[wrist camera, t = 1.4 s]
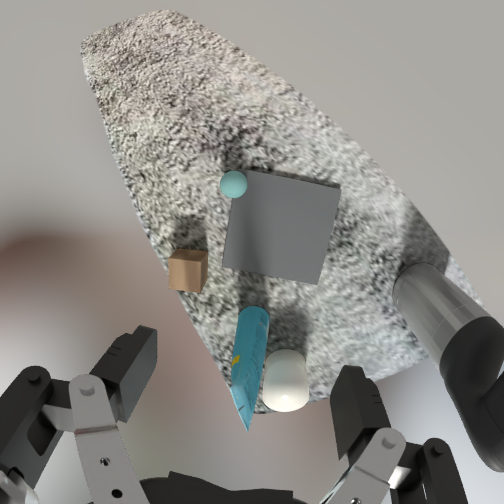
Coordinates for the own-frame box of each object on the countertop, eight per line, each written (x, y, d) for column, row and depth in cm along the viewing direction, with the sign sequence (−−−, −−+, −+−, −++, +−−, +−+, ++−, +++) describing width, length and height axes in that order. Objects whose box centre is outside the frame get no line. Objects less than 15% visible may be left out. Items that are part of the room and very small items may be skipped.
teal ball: (250, 172, 38) (248, 173, 34) (246, 198, 39) (243, 202, 36) (224, 168, 38) (220, 169, 34) (220, 193, 39) (215, 197, 36)
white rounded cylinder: (310, 352, 46) (315, 384, 39) (299, 381, 49) (301, 413, 41) (269, 345, 47) (268, 378, 39) (261, 375, 49) (258, 408, 41)
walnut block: (200, 261, 38) (168, 258, 38) (200, 292, 39) (169, 288, 40) (208, 251, 42) (178, 248, 43) (207, 279, 44) (178, 276, 44)
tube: (231, 302, 45) (206, 391, 26) (262, 295, 44) (253, 384, 26) (246, 341, 47) (231, 433, 28) (275, 334, 46) (273, 429, 28)
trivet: (340, 189, 38) (341, 189, 37) (316, 283, 42) (317, 284, 42) (238, 168, 38) (238, 168, 38) (222, 265, 43) (221, 266, 42)
